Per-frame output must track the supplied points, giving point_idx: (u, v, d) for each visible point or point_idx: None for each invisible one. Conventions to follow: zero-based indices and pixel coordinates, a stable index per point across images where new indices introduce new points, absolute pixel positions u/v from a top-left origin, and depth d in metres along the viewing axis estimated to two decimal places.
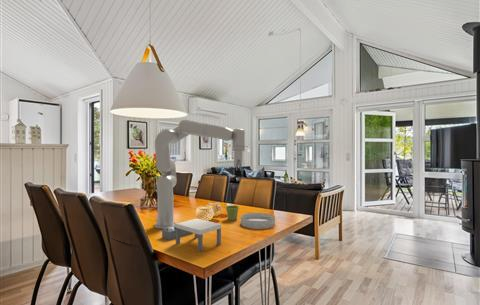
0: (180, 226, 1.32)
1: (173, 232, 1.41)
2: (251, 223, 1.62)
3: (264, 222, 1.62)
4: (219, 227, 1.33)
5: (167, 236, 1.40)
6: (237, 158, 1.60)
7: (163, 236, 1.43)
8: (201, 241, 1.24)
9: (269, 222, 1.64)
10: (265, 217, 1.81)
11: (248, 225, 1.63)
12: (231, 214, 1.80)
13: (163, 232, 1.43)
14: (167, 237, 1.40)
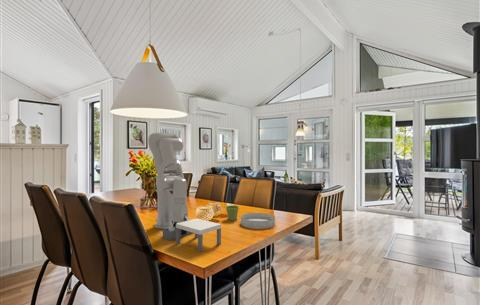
0: (180, 226, 1.32)
1: (174, 232, 1.41)
2: (251, 223, 1.62)
3: (264, 222, 1.62)
4: (219, 227, 1.33)
5: (168, 236, 1.40)
6: (184, 213, 1.44)
7: (164, 236, 1.42)
8: (201, 241, 1.24)
9: (269, 222, 1.64)
10: (265, 217, 1.81)
11: (248, 225, 1.63)
12: (231, 214, 1.80)
13: (164, 232, 1.42)
14: (168, 237, 1.40)
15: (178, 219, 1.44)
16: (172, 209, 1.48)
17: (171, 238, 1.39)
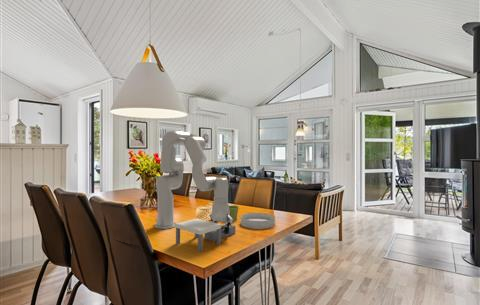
0: (180, 226, 1.32)
1: (216, 233, 1.40)
2: (251, 223, 1.62)
3: (264, 222, 1.62)
4: (219, 227, 1.33)
5: (211, 237, 1.39)
6: (226, 212, 1.43)
7: (206, 237, 1.41)
8: (201, 241, 1.24)
9: (269, 222, 1.64)
10: (265, 217, 1.81)
11: (248, 225, 1.63)
12: (231, 214, 1.80)
13: (206, 233, 1.41)
14: (211, 238, 1.39)
15: (220, 219, 1.43)
16: (213, 208, 1.47)
17: (214, 240, 1.38)
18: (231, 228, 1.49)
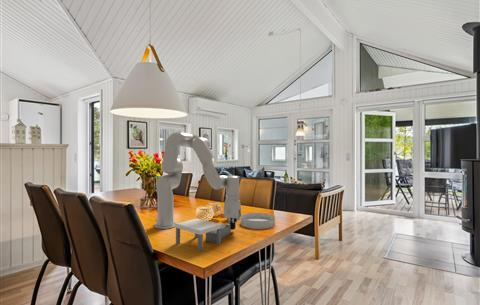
0: (180, 226, 1.32)
1: None
2: (251, 223, 1.62)
3: (264, 222, 1.62)
4: (219, 227, 1.33)
5: (213, 238, 1.37)
6: (238, 208, 1.51)
7: (207, 239, 1.38)
8: (201, 241, 1.24)
9: (269, 222, 1.64)
10: (265, 217, 1.81)
11: (248, 225, 1.63)
12: None
13: (207, 235, 1.38)
14: (213, 239, 1.37)
15: (232, 215, 1.51)
16: (225, 205, 1.54)
17: None
18: (228, 227, 1.50)
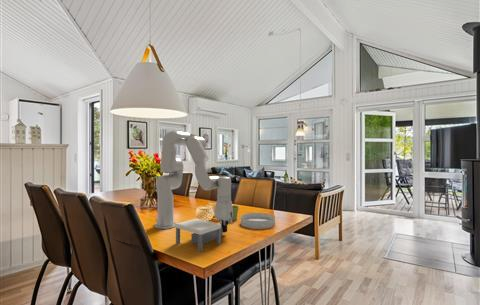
0: (180, 226, 1.32)
1: (204, 236, 1.34)
2: (251, 223, 1.62)
3: (264, 222, 1.62)
4: (219, 227, 1.33)
5: None
6: (230, 211, 1.45)
7: (193, 241, 1.35)
8: (201, 241, 1.24)
9: (269, 222, 1.64)
10: (265, 217, 1.81)
11: (248, 225, 1.63)
12: None
13: (193, 236, 1.35)
14: None
15: (224, 217, 1.45)
16: (217, 207, 1.48)
17: None
18: None
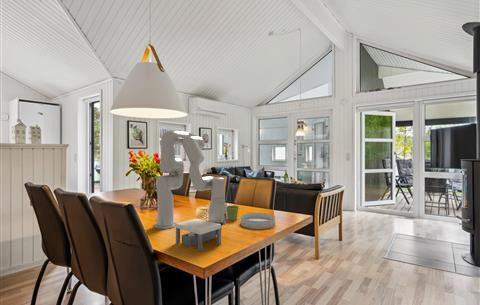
0: (180, 226, 1.32)
1: (194, 238, 1.32)
2: (251, 223, 1.62)
3: (264, 222, 1.62)
4: (219, 227, 1.33)
5: (187, 242, 1.31)
6: (224, 212, 1.41)
7: (183, 242, 1.33)
8: (201, 241, 1.24)
9: (269, 222, 1.64)
10: (265, 217, 1.81)
11: (248, 225, 1.63)
12: (231, 214, 1.80)
13: (183, 238, 1.33)
14: (187, 243, 1.31)
15: (218, 219, 1.41)
16: (210, 208, 1.45)
17: (190, 245, 1.30)
18: (211, 232, 1.41)
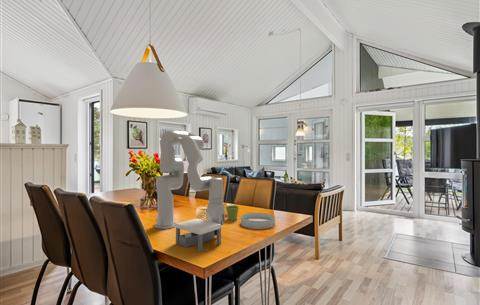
0: (180, 226, 1.32)
1: (190, 239, 1.31)
2: (251, 223, 1.62)
3: (264, 222, 1.62)
4: (219, 227, 1.33)
5: (183, 243, 1.30)
6: (221, 213, 1.40)
7: (179, 242, 1.33)
8: (201, 241, 1.24)
9: (269, 222, 1.64)
10: (265, 217, 1.81)
11: (248, 225, 1.63)
12: (231, 214, 1.80)
13: (179, 238, 1.33)
14: (183, 244, 1.30)
15: (215, 219, 1.40)
16: (208, 209, 1.43)
17: (186, 245, 1.30)
18: (209, 233, 1.39)
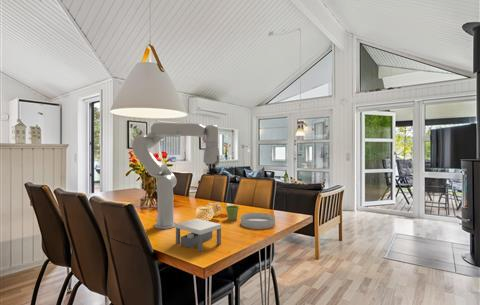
0: (180, 226, 1.32)
1: (194, 239, 1.30)
2: (251, 223, 1.62)
3: (264, 222, 1.62)
4: (219, 227, 1.33)
5: (188, 244, 1.29)
6: (216, 154, 1.61)
7: (182, 244, 1.31)
8: (201, 241, 1.24)
9: (269, 222, 1.64)
10: (265, 217, 1.81)
11: (248, 225, 1.63)
12: (231, 214, 1.80)
13: (182, 239, 1.31)
14: (188, 245, 1.29)
15: (211, 160, 1.61)
16: (205, 152, 1.65)
17: (191, 246, 1.29)
18: (208, 232, 1.41)
